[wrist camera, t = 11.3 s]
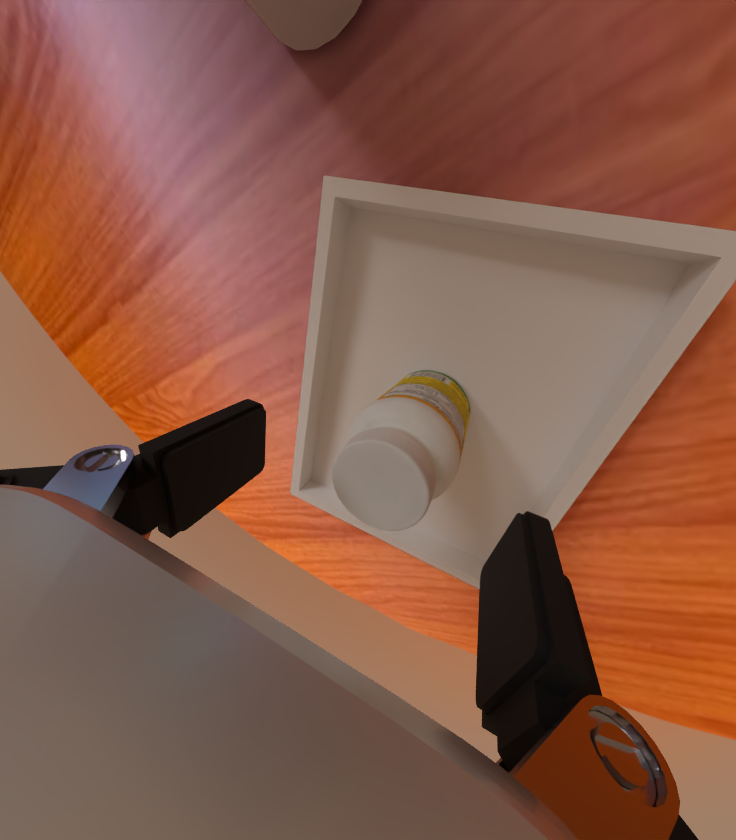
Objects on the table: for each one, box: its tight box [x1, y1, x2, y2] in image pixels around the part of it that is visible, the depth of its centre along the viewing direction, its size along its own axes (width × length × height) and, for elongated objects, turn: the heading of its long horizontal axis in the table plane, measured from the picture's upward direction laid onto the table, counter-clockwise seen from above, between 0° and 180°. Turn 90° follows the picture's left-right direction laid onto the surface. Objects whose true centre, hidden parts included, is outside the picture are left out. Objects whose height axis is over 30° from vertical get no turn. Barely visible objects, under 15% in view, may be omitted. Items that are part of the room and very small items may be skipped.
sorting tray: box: [290, 175, 736, 590], centre depth 18 cm, size 22×18×2 cm
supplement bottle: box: [332, 369, 471, 531], centre depth 15 cm, size 5×5×10 cm
